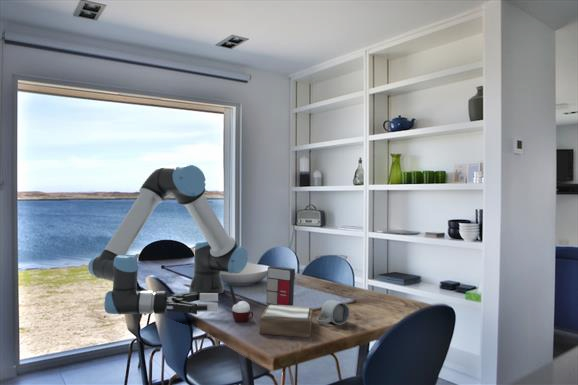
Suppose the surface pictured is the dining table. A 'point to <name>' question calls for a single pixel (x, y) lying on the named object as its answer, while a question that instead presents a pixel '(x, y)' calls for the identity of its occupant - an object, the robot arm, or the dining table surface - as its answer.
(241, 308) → the cocoa
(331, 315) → the ceramic mug
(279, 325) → the walnut stand
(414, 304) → the dining table surface
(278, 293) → the calculator
